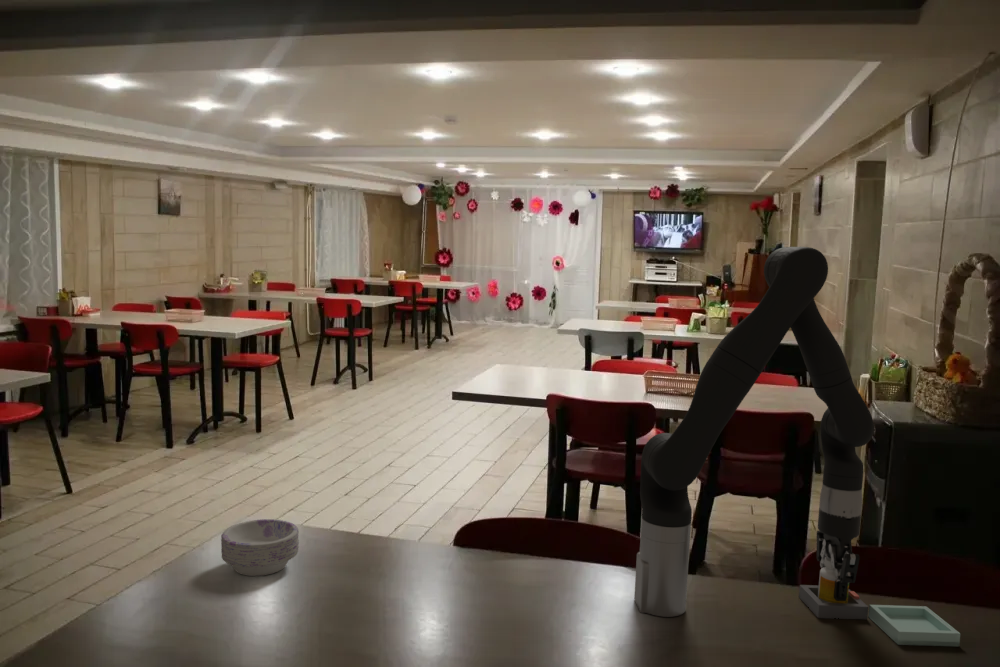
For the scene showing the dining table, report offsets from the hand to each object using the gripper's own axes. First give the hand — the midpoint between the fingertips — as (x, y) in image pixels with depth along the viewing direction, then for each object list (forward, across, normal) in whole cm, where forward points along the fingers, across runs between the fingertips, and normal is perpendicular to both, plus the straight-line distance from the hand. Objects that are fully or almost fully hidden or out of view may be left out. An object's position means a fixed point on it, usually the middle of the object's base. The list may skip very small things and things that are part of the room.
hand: (833, 593), depth 156 cm
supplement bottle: (+3, 0, 0) cm, 3 cm away
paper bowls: (+3, -11, -114) cm, 115 cm away
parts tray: (+3, +9, +11) cm, 15 cm away
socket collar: (+3, 0, 0) cm, 3 cm away
